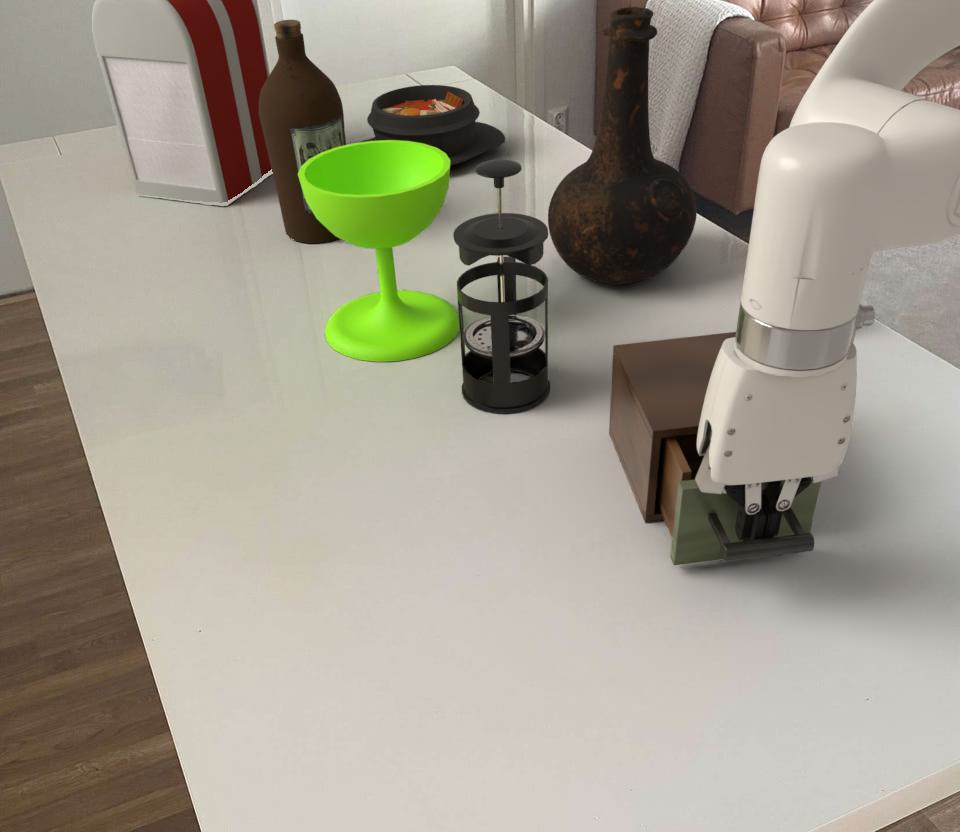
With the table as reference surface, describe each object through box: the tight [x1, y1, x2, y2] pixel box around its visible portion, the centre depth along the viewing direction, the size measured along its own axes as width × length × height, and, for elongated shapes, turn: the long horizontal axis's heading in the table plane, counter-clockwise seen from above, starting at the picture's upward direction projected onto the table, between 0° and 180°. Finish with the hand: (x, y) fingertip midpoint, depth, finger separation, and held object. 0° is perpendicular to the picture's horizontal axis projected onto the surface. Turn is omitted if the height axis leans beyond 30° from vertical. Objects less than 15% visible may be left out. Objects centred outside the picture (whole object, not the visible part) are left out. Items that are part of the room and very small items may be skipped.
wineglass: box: [298, 140, 460, 363], centre depth 111 cm, size 16×16×18 cm
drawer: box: [656, 434, 823, 566], centre depth 85 cm, size 19×11×8 cm, turn 8°
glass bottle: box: [547, 6, 698, 285], centre depth 116 cm, size 18×18×28 cm
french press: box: [453, 158, 551, 414], centre depth 99 cm, size 12×9×23 cm
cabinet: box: [608, 331, 736, 524], centre depth 92 cm, size 15×13×10 cm
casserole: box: [357, 84, 506, 167], centre depth 153 cm, size 25×19×8 cm
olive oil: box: [259, 19, 347, 244], centre depth 130 cm, size 11×11×25 cm
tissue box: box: [91, 0, 272, 203], centre depth 144 cm, size 16×18×27 cm
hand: (754, 542), depth 80 cm, fingers closed
